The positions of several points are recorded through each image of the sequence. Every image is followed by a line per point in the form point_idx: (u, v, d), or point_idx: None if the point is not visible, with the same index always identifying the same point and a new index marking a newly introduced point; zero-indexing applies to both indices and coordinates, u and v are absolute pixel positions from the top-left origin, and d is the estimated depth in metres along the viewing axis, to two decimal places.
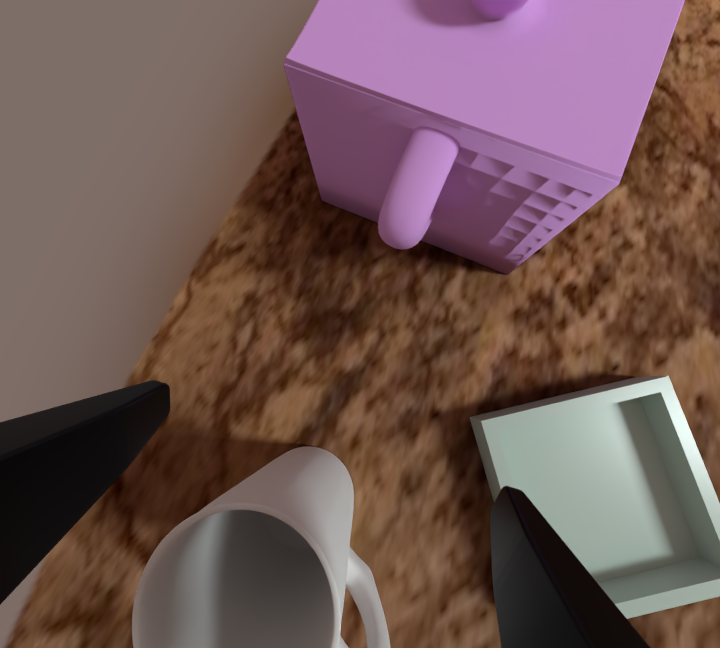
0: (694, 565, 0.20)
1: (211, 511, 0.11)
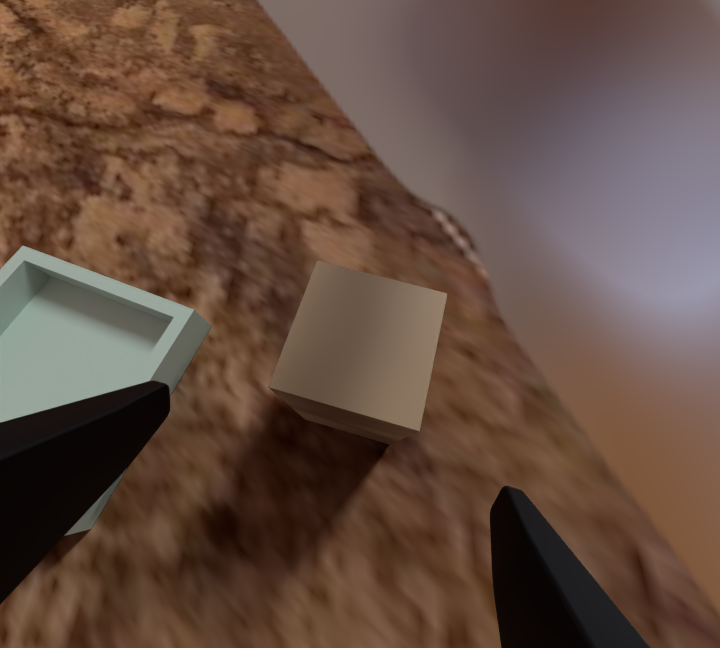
0: None
1: None
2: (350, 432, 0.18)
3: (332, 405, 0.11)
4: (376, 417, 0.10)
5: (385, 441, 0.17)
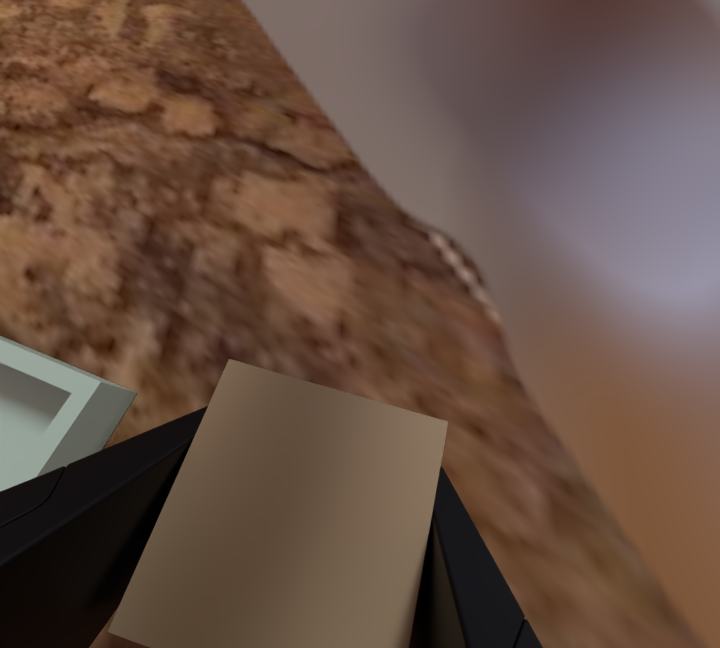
0: None
1: None
2: None
3: None
4: None
5: None
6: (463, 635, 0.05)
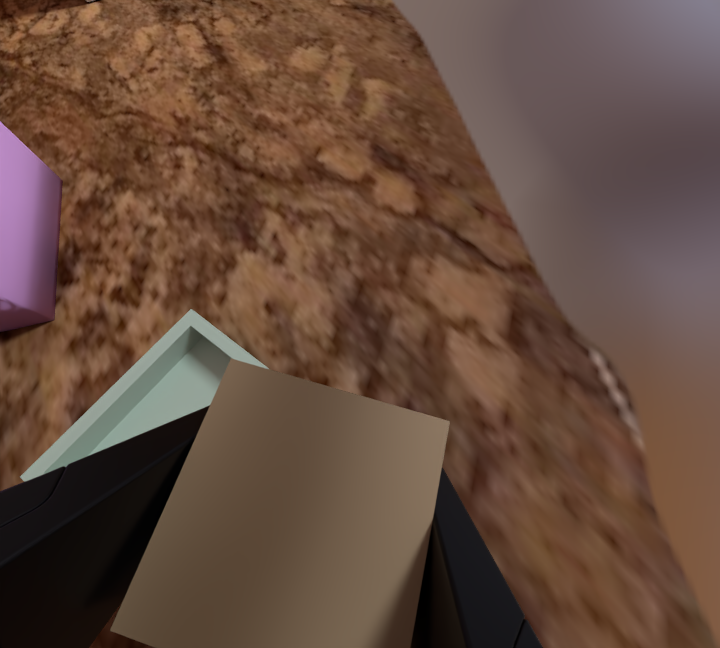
0: None
1: None
2: None
3: None
4: None
5: None
6: (463, 635, 0.05)
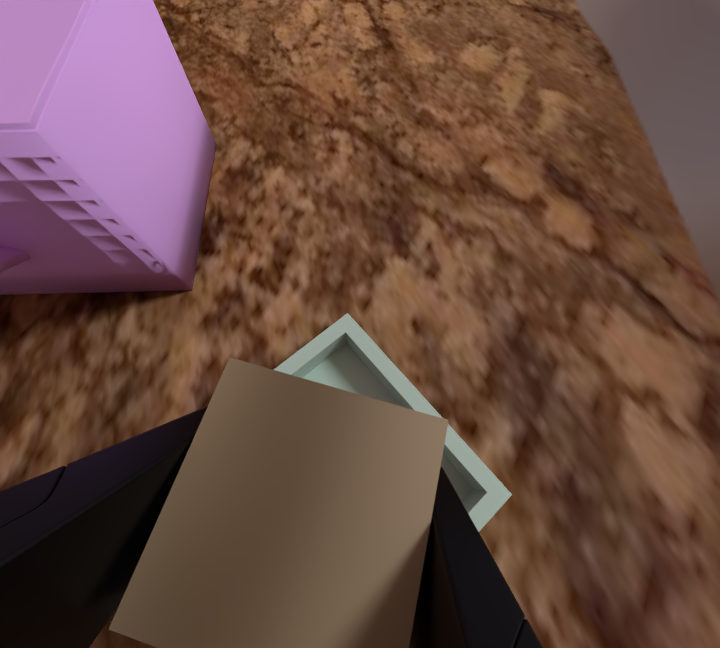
0: (465, 502, 0.16)
1: None
2: None
3: None
4: None
5: None
6: (463, 635, 0.05)
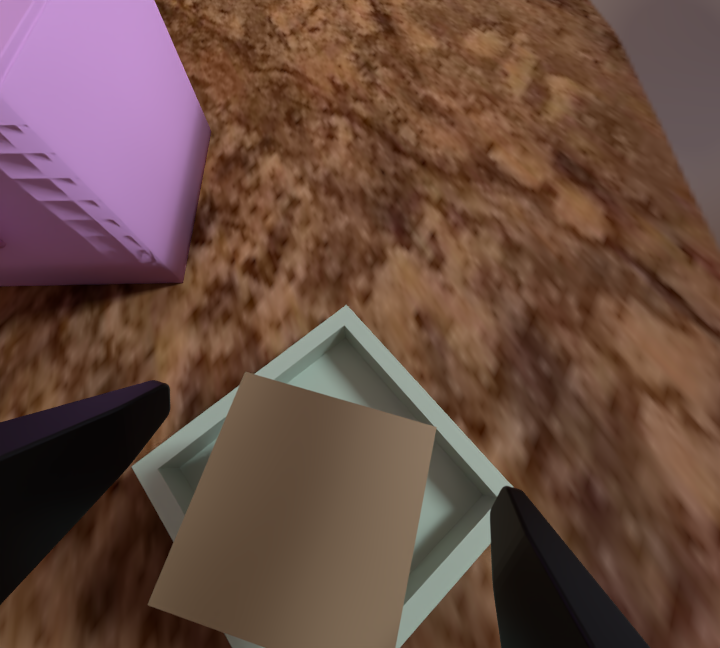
0: (474, 509, 0.15)
1: None
2: None
3: (248, 639, 0.07)
4: None
5: None
6: None
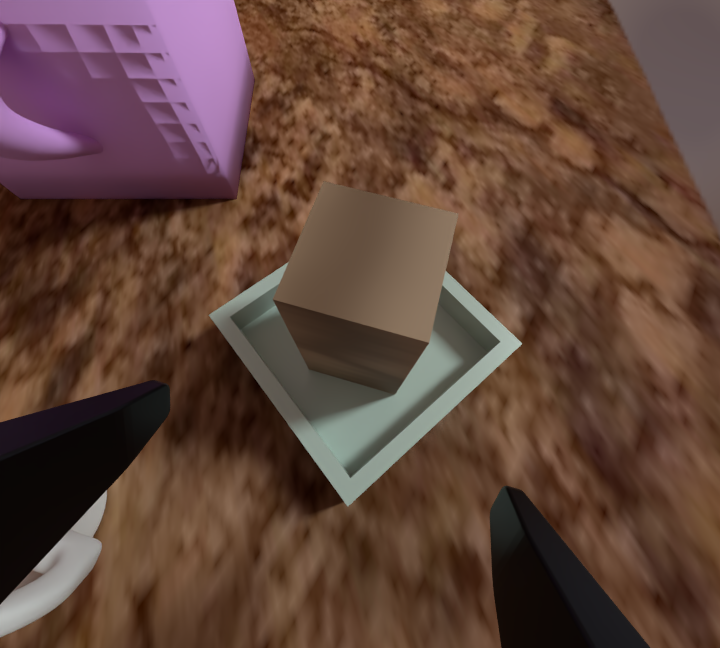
0: (480, 358, 0.19)
1: None
2: (355, 381, 0.18)
3: (339, 317, 0.10)
4: (384, 329, 0.10)
5: (391, 388, 0.17)
6: None
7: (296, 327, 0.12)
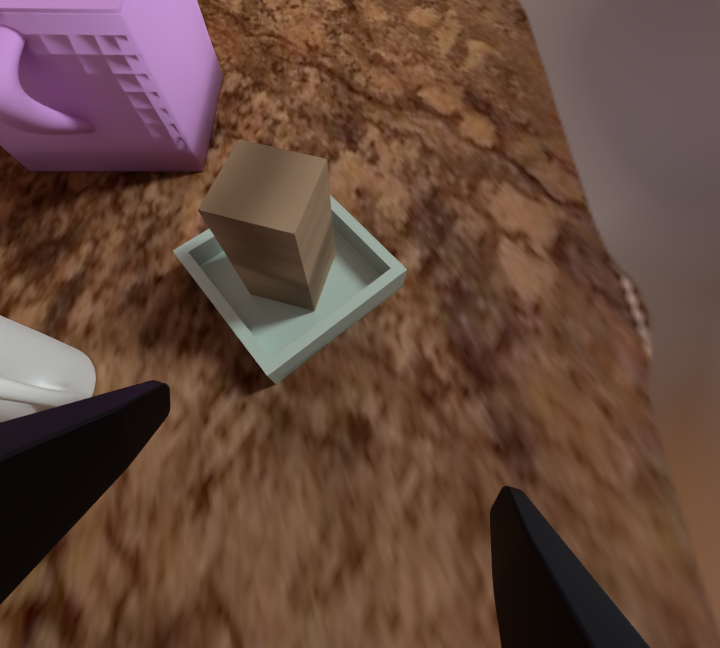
0: None
1: None
2: (284, 301, 0.24)
3: (239, 220, 0.16)
4: (267, 226, 0.16)
5: (307, 302, 0.23)
6: None
7: (221, 238, 0.18)
